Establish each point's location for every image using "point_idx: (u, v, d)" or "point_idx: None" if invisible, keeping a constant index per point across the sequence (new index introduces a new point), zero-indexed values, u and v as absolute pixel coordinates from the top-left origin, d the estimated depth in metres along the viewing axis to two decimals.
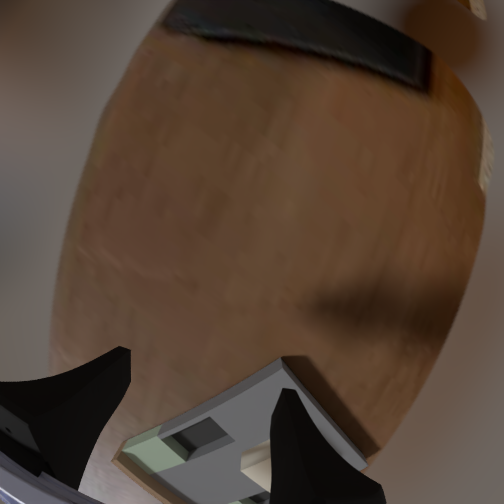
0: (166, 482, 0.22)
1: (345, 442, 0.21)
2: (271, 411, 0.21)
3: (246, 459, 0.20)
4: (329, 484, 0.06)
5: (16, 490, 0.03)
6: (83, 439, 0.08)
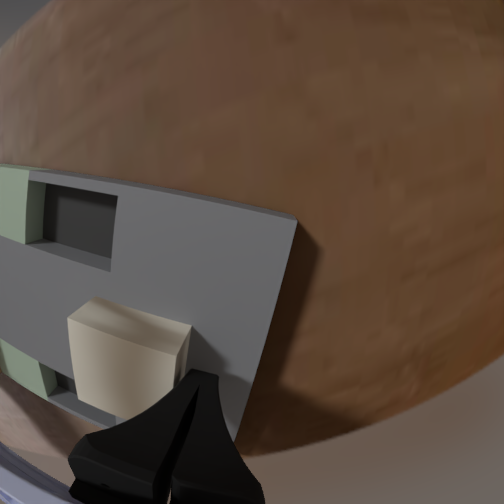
0: None
1: (240, 417, 0.14)
2: (207, 274, 0.12)
3: (91, 310, 0.11)
4: (196, 469, 0.06)
5: (16, 490, 0.03)
6: (171, 472, 0.08)
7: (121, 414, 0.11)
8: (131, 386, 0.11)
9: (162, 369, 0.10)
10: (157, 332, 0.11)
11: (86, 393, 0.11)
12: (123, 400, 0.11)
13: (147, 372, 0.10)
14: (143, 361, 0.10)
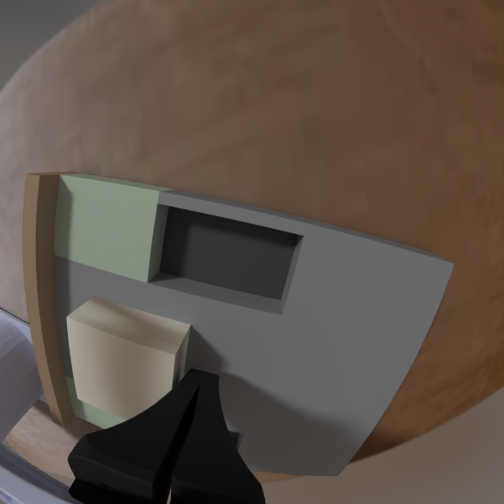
0: (67, 291, 0.13)
1: (371, 430, 0.14)
2: (383, 311, 0.12)
3: (90, 309, 0.11)
4: (197, 469, 0.06)
5: (16, 490, 0.03)
6: (171, 472, 0.08)
7: (120, 413, 0.11)
8: (130, 385, 0.11)
9: (161, 368, 0.10)
10: (156, 331, 0.11)
11: (85, 392, 0.11)
12: (123, 400, 0.11)
13: (146, 371, 0.10)
14: (142, 360, 0.10)
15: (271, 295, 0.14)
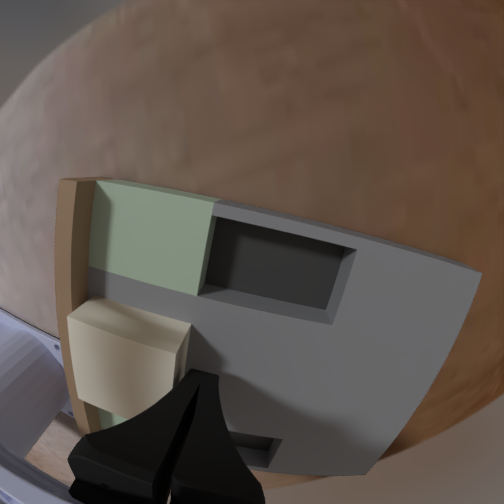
0: None
1: (400, 429, 0.14)
2: (421, 318, 0.12)
3: (91, 309, 0.11)
4: (197, 469, 0.06)
5: (16, 490, 0.03)
6: (171, 472, 0.08)
7: (121, 413, 0.11)
8: (131, 384, 0.11)
9: (162, 367, 0.10)
10: (157, 330, 0.11)
11: (86, 392, 0.11)
12: (123, 399, 0.11)
13: (147, 370, 0.10)
14: (143, 359, 0.10)
15: (317, 305, 0.14)
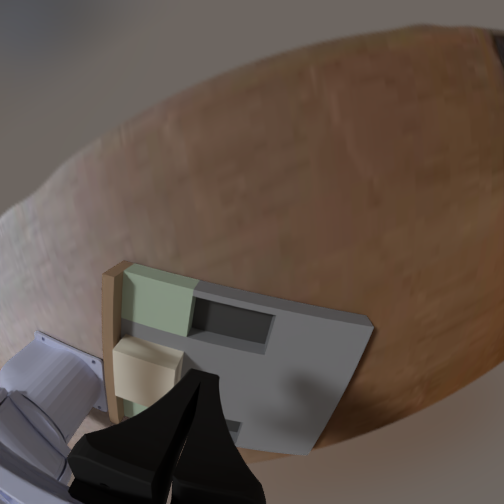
0: None
1: (325, 423, 0.23)
2: (325, 353, 0.21)
3: (125, 344, 0.20)
4: (198, 469, 0.06)
5: (16, 490, 0.03)
6: (170, 472, 0.08)
7: (142, 403, 0.20)
8: (150, 386, 0.20)
9: (167, 376, 0.19)
10: (164, 356, 0.20)
11: (121, 391, 0.20)
12: (145, 394, 0.20)
13: (159, 378, 0.19)
14: (157, 372, 0.19)
15: (259, 341, 0.23)
